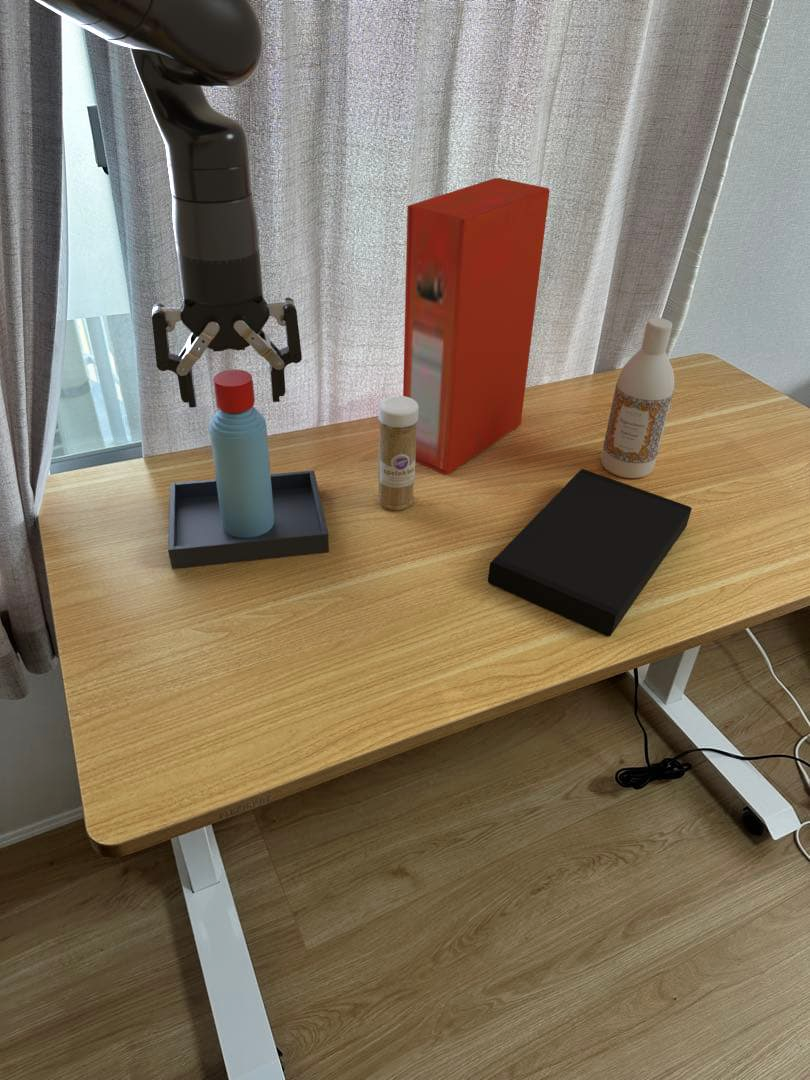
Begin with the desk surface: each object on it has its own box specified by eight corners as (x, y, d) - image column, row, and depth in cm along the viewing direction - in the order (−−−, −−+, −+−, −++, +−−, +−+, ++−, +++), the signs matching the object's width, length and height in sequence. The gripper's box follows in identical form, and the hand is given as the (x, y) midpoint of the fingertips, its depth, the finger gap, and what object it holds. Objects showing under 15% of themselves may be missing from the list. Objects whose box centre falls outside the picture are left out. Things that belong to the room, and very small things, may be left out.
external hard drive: (487, 582, 87) (490, 561, 85) (577, 487, 103) (581, 467, 101) (610, 637, 81) (616, 615, 79) (686, 527, 96) (692, 507, 95)
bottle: (222, 540, 91) (203, 398, 80) (221, 510, 95) (202, 371, 84) (276, 535, 92) (264, 394, 81) (272, 505, 96) (260, 368, 86)
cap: (253, 394, 86) (251, 368, 84) (256, 411, 83) (253, 385, 81) (215, 396, 85) (212, 370, 84) (217, 414, 82) (213, 387, 81)
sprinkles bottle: (387, 515, 97) (389, 416, 88) (370, 496, 100) (371, 398, 91) (420, 506, 98) (426, 408, 90) (403, 487, 101) (407, 390, 93)
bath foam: (592, 470, 106) (622, 325, 94) (609, 447, 111) (639, 306, 99) (644, 485, 103) (681, 338, 91) (659, 461, 108) (696, 319, 96)
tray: (171, 569, 87) (168, 550, 86) (173, 500, 98) (170, 482, 96) (329, 552, 91) (328, 533, 89) (314, 487, 101) (314, 470, 99)
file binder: (399, 454, 108) (407, 204, 88) (473, 408, 119) (495, 176, 99) (448, 476, 104) (467, 219, 84) (520, 426, 115) (552, 189, 95)
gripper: (135, 260, 70) (163, 424, 80) (299, 254, 73) (306, 413, 83) (139, 234, 76) (165, 389, 86) (291, 229, 79) (299, 381, 88)
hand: (234, 401), depth 84 cm, fingers open, 8 cm apart
